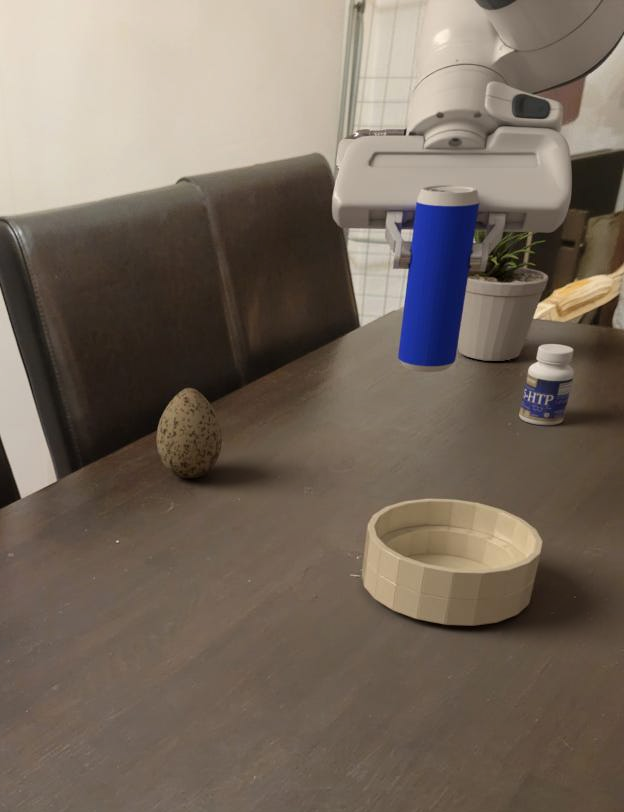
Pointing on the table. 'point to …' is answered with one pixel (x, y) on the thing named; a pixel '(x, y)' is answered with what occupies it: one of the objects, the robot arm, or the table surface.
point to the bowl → (450, 561)
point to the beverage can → (437, 276)
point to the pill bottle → (547, 386)
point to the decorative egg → (189, 435)
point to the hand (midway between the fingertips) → (439, 266)
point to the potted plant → (499, 303)
